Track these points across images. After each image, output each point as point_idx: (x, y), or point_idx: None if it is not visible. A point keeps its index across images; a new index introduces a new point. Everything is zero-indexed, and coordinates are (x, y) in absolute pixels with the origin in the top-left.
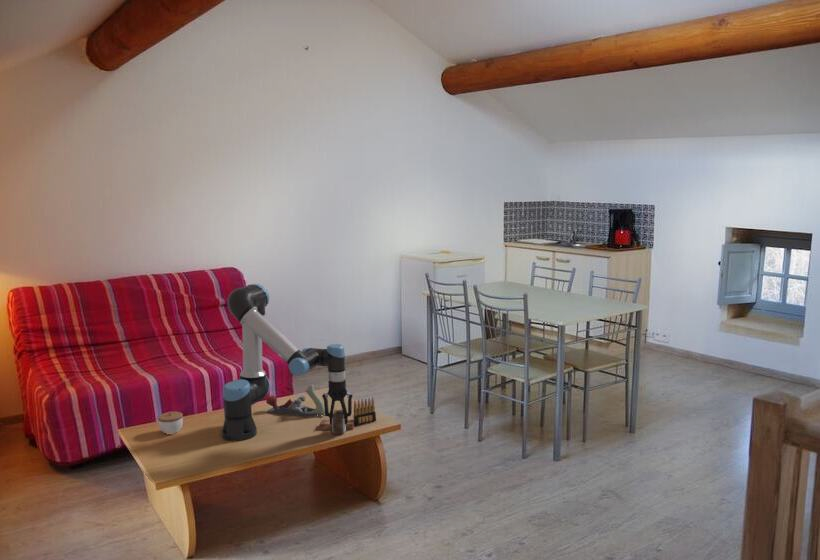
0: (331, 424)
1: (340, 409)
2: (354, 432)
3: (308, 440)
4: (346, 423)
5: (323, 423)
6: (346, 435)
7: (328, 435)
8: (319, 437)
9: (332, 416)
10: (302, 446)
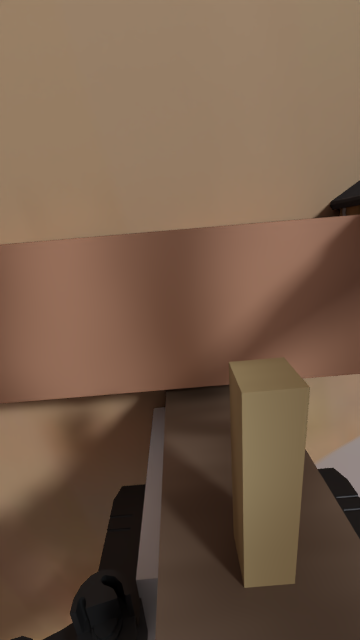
0: (112, 392)
1: (261, 408)
2: (350, 408)
3: (26, 566)
4: None
5: (3, 385)
6: None
7: (139, 482)
8: (83, 519)
9: (142, 620)
10: (35, 632)
